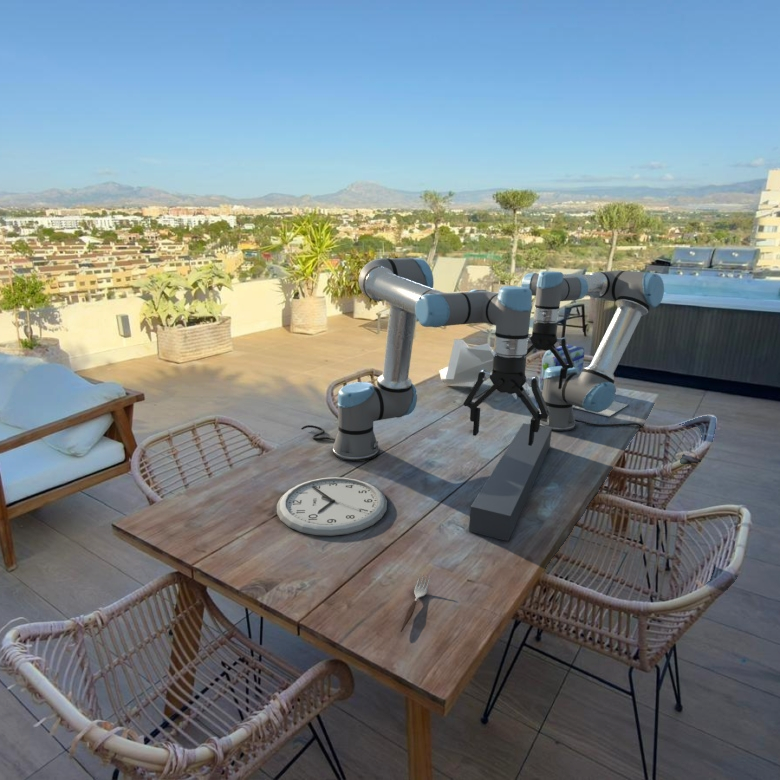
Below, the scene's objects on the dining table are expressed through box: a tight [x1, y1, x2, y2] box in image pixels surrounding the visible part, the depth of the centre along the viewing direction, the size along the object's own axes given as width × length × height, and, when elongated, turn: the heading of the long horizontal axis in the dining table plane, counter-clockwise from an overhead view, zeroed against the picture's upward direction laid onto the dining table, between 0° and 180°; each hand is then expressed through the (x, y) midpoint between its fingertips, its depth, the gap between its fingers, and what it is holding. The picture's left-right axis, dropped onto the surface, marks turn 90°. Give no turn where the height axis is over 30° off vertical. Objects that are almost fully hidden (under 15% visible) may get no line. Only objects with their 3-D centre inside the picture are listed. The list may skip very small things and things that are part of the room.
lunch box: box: [539, 344, 585, 391], centre depth 246 cm, size 26×11×21 cm, turn 135°
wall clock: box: [276, 476, 388, 537], centre depth 142 cm, size 30×2×30 cm
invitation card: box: [573, 400, 629, 418], centre depth 226 cm, size 21×1×15 cm
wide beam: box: [468, 422, 553, 542], centre depth 157 cm, size 65×10×7 cm, turn 155°
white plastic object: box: [438, 338, 531, 400], centre depth 245 cm, size 37×45×31 cm
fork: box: [400, 573, 431, 633], centre depth 105 cm, size 3×16×2 cm, turn 160°
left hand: (502, 438), depth 128 cm, fingers open, 13 cm apart
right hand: (538, 385), depth 173 cm, fingers open, 13 cm apart
